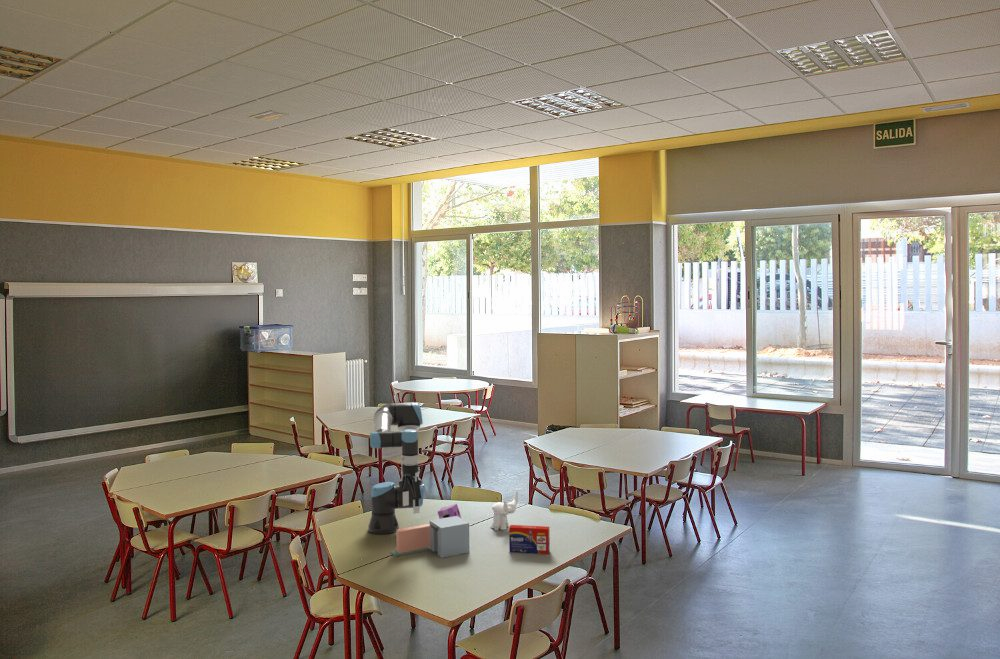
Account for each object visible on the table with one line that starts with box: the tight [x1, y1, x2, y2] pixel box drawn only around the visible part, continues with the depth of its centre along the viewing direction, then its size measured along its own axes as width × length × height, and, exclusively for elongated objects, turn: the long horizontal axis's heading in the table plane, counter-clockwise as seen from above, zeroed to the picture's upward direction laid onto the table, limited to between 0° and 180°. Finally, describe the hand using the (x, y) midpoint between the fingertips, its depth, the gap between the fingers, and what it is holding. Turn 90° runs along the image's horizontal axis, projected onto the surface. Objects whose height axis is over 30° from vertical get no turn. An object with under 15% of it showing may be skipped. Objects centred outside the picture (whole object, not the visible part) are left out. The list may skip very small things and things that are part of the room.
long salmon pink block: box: [395, 523, 430, 553], centre depth 338 cm, size 4×16×10 cm, turn 120°
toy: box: [437, 503, 463, 519], centre depth 358 cm, size 11×8×15 cm
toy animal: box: [490, 490, 519, 531], centre depth 369 cm, size 20×12×17 cm, turn 161°
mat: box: [389, 547, 431, 557], centre depth 337 cm, size 6×17×1 cm, turn 119°
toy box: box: [508, 524, 551, 555], centre depth 334 cm, size 18×4×12 cm, turn 79°
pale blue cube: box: [429, 516, 470, 559], centre depth 336 cm, size 13×15×14 cm
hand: (411, 509), depth 337 cm, fingers open, 13 cm apart
